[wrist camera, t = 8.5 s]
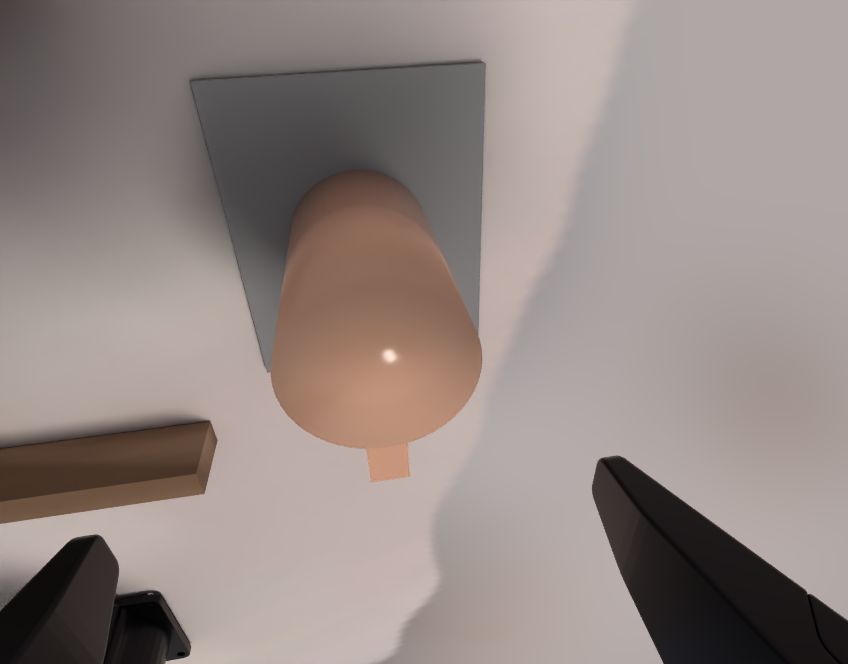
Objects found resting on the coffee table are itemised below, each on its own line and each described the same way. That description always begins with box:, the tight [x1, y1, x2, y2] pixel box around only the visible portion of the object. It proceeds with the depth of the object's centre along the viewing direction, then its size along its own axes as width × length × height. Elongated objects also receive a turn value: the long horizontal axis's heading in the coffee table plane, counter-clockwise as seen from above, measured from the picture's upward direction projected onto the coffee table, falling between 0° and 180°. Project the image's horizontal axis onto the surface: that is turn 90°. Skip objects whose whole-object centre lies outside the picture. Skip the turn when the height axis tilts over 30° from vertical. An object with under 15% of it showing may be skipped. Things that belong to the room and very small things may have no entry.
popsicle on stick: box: [271, 170, 482, 482], centre depth 16 cm, size 5×8×8 cm, turn 2°
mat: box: [190, 62, 486, 373], centre depth 19 cm, size 11×9×1 cm
